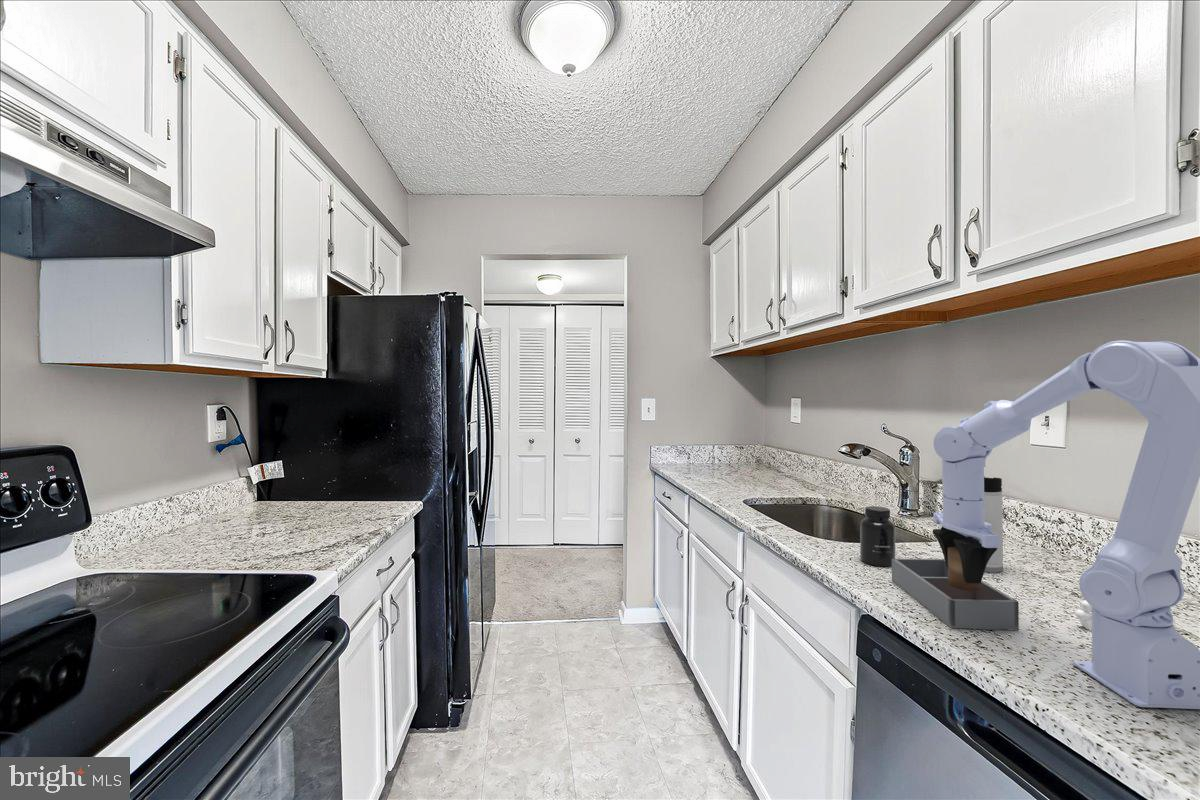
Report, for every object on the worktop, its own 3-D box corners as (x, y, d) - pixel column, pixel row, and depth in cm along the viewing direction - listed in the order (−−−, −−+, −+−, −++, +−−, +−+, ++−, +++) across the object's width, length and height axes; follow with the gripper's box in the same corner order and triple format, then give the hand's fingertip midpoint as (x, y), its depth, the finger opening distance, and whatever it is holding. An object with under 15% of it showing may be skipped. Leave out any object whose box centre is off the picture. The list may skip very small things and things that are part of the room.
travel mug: (959, 566, 106) (957, 473, 106) (974, 560, 110) (973, 470, 109) (993, 575, 101) (992, 477, 100) (1008, 569, 104) (1007, 474, 104)
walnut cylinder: (986, 590, 82) (986, 554, 82) (958, 590, 82) (957, 554, 82) (969, 580, 86) (969, 546, 86) (942, 580, 87) (942, 546, 87)
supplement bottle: (881, 569, 106) (880, 513, 106) (853, 559, 112) (852, 507, 112) (902, 564, 109) (902, 509, 108) (874, 555, 115) (873, 503, 115)
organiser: (1018, 630, 79) (1018, 601, 79) (951, 628, 80) (950, 600, 80) (945, 581, 99) (944, 559, 98) (891, 580, 100) (891, 558, 100)
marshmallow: (1116, 629, 78) (1113, 601, 78) (1122, 633, 77) (1118, 605, 77) (1075, 627, 80) (1072, 599, 80) (1080, 631, 79) (1077, 603, 79)
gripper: (1020, 507, 76) (1021, 595, 77) (961, 488, 91) (962, 562, 91) (970, 507, 77) (971, 594, 77) (920, 488, 92) (921, 562, 92)
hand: (964, 577), depth 84 cm, fingers closed on walnut cylinder, 4 cm apart
